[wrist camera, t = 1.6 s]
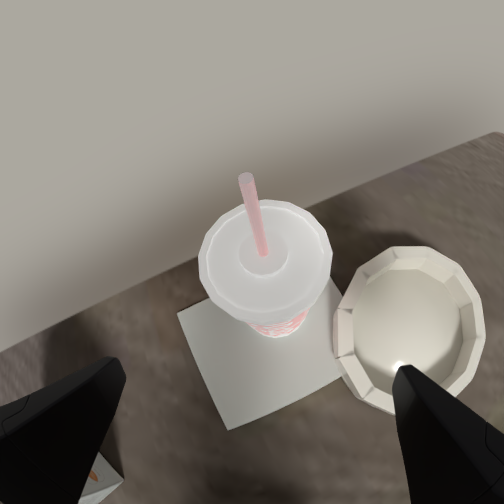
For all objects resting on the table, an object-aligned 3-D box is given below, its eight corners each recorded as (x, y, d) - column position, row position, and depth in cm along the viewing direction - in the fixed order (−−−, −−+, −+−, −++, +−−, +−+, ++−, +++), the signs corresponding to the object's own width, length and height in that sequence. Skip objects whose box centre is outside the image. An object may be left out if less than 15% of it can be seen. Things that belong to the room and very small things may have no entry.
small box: (49, 444, 16) (-52, 439, 5) (73, 413, 18) (-43, 399, 6) (97, 506, 13) (-3, 533, 2) (127, 481, 15) (11, 514, 3)
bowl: (428, 431, 14) (447, 436, 11) (301, 369, 18) (302, 367, 15) (478, 300, 18) (496, 288, 15) (370, 240, 22) (379, 220, 19)
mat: (228, 429, 17) (228, 430, 16) (178, 314, 21) (176, 313, 21) (375, 354, 18) (376, 353, 17) (310, 248, 22) (310, 246, 22)
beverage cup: (232, 347, 19) (127, 276, 7) (238, 270, 22) (173, 127, 10) (317, 347, 18) (368, 274, 6) (315, 268, 21) (334, 115, 9)
